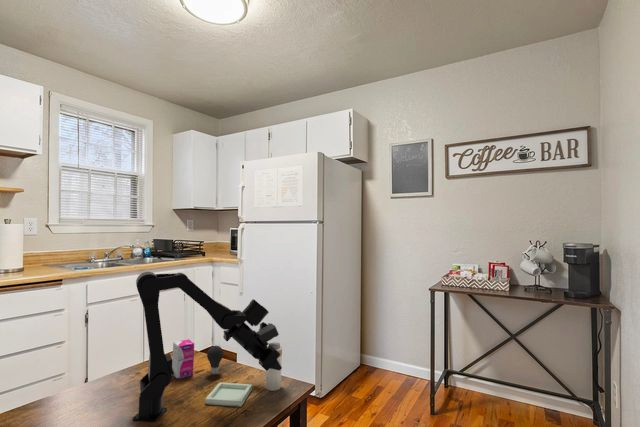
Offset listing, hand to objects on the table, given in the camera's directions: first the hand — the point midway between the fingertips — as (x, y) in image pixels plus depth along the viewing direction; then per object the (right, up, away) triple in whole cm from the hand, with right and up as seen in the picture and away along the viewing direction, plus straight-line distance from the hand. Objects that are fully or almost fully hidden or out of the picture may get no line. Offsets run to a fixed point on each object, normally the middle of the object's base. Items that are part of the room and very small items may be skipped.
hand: (277, 366), depth 115 cm
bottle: (-1, -7, -1) cm, 7 cm away
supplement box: (-35, -7, +7) cm, 36 cm away
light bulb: (-24, -7, +8) cm, 26 cm away
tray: (-14, -6, -8) cm, 17 cm away
